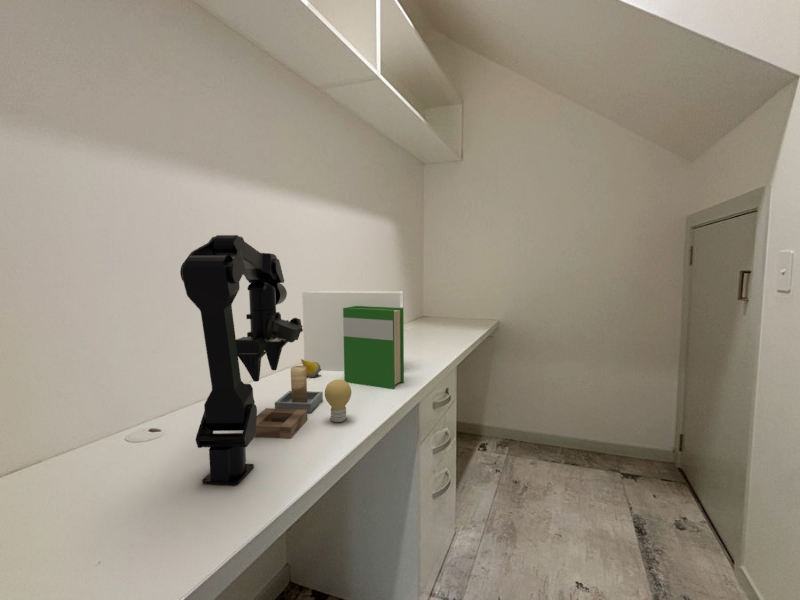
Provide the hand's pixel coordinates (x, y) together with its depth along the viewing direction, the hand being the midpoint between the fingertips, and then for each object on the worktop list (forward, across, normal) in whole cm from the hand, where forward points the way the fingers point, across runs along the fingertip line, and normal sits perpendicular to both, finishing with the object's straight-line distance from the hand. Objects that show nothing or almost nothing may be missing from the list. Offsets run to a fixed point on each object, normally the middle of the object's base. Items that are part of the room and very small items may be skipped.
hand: (265, 375), depth 92 cm
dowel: (+12, +13, -3) cm, 18 cm away
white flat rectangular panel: (+12, +52, -9) cm, 54 cm away
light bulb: (+12, +4, -16) cm, 21 cm away
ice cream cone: (+12, +40, +3) cm, 42 cm away
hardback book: (+12, +36, -19) cm, 43 cm away
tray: (+12, +13, -3) cm, 18 cm away
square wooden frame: (+12, -1, -3) cm, 12 cm away
